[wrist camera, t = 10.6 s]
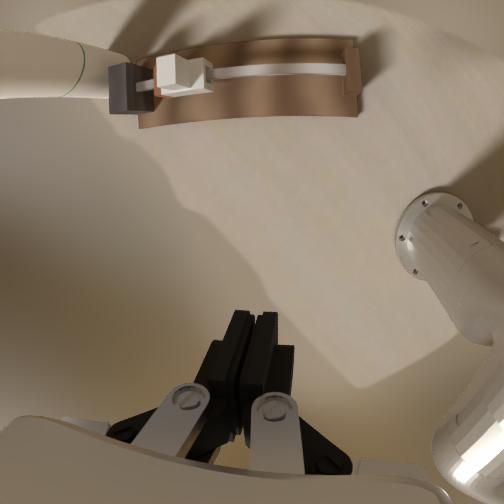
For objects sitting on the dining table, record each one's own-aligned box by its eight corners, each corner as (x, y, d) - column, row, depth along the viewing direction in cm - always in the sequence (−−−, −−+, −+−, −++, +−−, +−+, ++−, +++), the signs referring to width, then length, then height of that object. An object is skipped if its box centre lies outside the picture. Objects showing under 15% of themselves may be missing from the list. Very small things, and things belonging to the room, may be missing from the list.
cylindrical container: (101, 52, 35) (-36, 31, 12) (138, 55, 35) (-5, 22, 12) (88, 95, 38) (-52, 101, 15) (123, 102, 37) (-25, 105, 15)
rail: (351, 42, 30) (361, 22, 23) (356, 117, 34) (368, 113, 26) (140, 61, 35) (108, 52, 28) (143, 128, 39) (110, 130, 31)
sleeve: (212, 63, 31) (189, 49, 24) (213, 91, 32) (190, 83, 25) (173, 69, 32) (143, 59, 25) (174, 97, 33) (143, 91, 26)
